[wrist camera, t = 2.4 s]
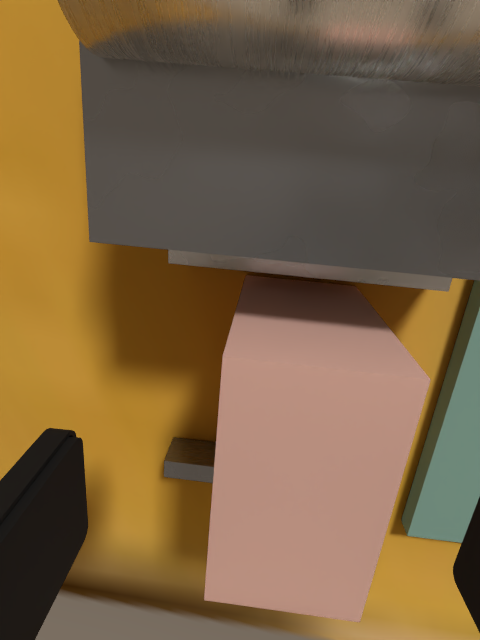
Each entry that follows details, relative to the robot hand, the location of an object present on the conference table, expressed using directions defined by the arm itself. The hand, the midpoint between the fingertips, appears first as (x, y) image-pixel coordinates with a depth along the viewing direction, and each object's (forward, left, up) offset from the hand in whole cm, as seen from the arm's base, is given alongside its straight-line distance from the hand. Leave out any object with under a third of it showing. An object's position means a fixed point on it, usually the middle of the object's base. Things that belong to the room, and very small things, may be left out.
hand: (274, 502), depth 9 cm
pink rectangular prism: (-1, 0, -7) cm, 7 cm away
